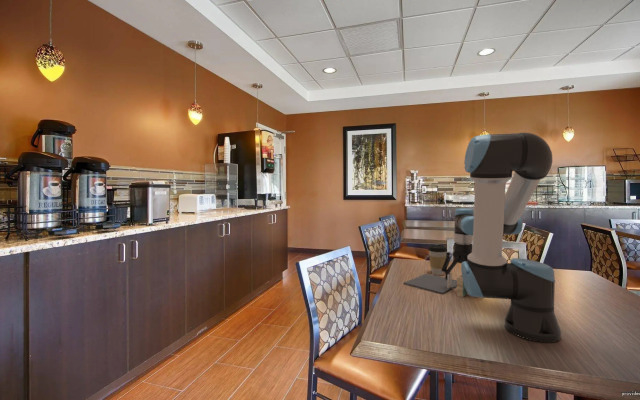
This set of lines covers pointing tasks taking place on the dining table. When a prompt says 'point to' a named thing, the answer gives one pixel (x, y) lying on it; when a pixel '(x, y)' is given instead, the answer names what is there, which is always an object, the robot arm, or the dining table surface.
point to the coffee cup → (437, 258)
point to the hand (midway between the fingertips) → (461, 290)
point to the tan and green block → (461, 287)
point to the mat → (432, 283)
